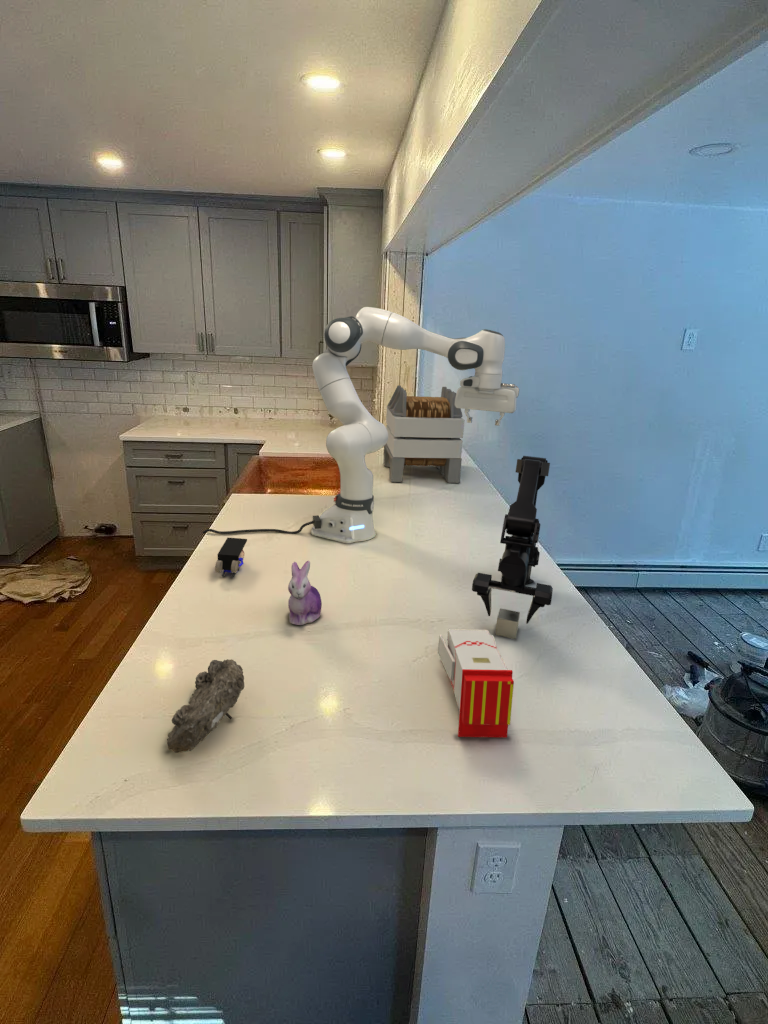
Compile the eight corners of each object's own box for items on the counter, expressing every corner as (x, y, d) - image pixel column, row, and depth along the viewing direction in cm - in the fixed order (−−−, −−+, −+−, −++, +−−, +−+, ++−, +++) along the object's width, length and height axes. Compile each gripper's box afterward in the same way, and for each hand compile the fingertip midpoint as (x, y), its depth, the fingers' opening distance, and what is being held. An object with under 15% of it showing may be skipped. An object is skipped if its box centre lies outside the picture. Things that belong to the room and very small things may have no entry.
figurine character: (238, 584, 162) (249, 557, 175) (236, 562, 158) (247, 536, 172) (215, 584, 161) (227, 556, 175) (212, 561, 158) (225, 535, 171)
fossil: (192, 660, 117) (244, 628, 112) (224, 691, 120) (276, 661, 115) (142, 746, 98) (202, 712, 93) (182, 779, 101) (242, 748, 96)
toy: (488, 613, 130) (523, 677, 101) (484, 667, 133) (517, 744, 104) (435, 612, 130) (455, 676, 101) (432, 666, 133) (451, 743, 103)
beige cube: (515, 639, 138) (517, 622, 137) (494, 635, 140) (497, 617, 138) (517, 629, 143) (520, 612, 141) (497, 625, 144) (500, 608, 143)
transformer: (382, 463, 289) (386, 382, 275) (445, 464, 293) (451, 384, 279) (390, 482, 257) (394, 392, 243) (460, 483, 261) (468, 394, 247)
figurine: (293, 630, 138) (292, 574, 133) (280, 610, 146) (279, 557, 141) (329, 622, 142) (330, 568, 137) (314, 603, 150) (315, 552, 145)
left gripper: (521, 383, 185) (515, 425, 190) (459, 378, 191) (455, 419, 196) (518, 385, 180) (513, 428, 184) (455, 380, 185) (451, 422, 190)
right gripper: (557, 555, 140) (548, 611, 145) (482, 543, 145) (476, 597, 150) (555, 573, 130) (546, 633, 135) (474, 560, 135) (468, 617, 140)
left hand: (483, 423), depth 190 cm, fingers open, 8 cm apart
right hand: (508, 619), depth 140 cm, fingers open, 9 cm apart
